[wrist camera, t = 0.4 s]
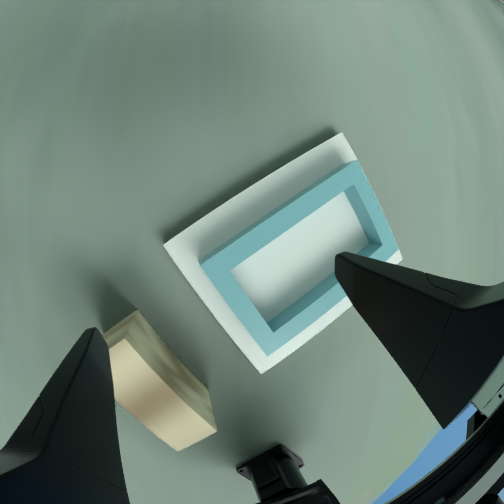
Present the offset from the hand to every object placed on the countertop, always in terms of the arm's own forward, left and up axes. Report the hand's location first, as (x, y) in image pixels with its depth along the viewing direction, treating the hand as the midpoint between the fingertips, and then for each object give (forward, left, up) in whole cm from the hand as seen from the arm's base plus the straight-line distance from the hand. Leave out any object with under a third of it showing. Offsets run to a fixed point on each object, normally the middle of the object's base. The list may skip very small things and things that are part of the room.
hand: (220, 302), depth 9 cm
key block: (-6, +9, -13) cm, 17 cm away
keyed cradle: (-5, -7, -13) cm, 16 cm away
